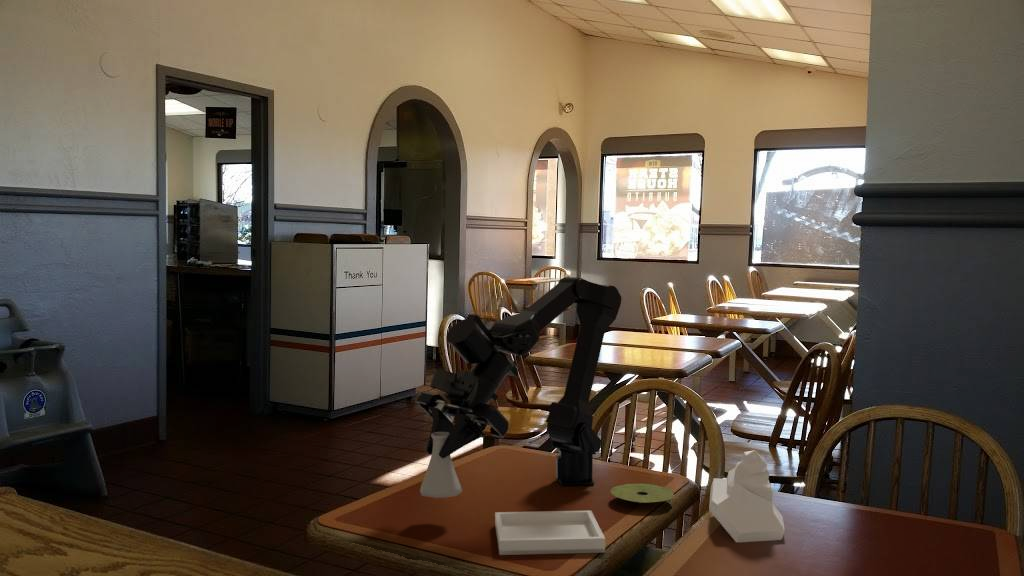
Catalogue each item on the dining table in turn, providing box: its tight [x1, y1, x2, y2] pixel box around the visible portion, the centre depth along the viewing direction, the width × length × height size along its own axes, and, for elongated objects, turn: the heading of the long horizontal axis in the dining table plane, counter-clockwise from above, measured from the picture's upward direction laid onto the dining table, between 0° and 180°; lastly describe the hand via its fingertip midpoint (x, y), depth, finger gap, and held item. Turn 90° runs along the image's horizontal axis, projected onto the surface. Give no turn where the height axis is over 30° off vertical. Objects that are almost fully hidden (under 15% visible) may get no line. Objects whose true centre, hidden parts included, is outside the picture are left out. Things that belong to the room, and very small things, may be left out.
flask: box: [419, 432, 463, 499], centre depth 139 cm, size 7×7×10 cm
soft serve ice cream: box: [708, 449, 785, 543], centre depth 136 cm, size 12×15×14 cm
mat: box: [610, 483, 675, 505], centre depth 150 cm, size 11×11×2 cm
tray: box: [494, 510, 606, 556], centre depth 132 cm, size 16×13×2 cm
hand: (434, 454), depth 138 cm, fingers closed on flask, 3 cm apart
